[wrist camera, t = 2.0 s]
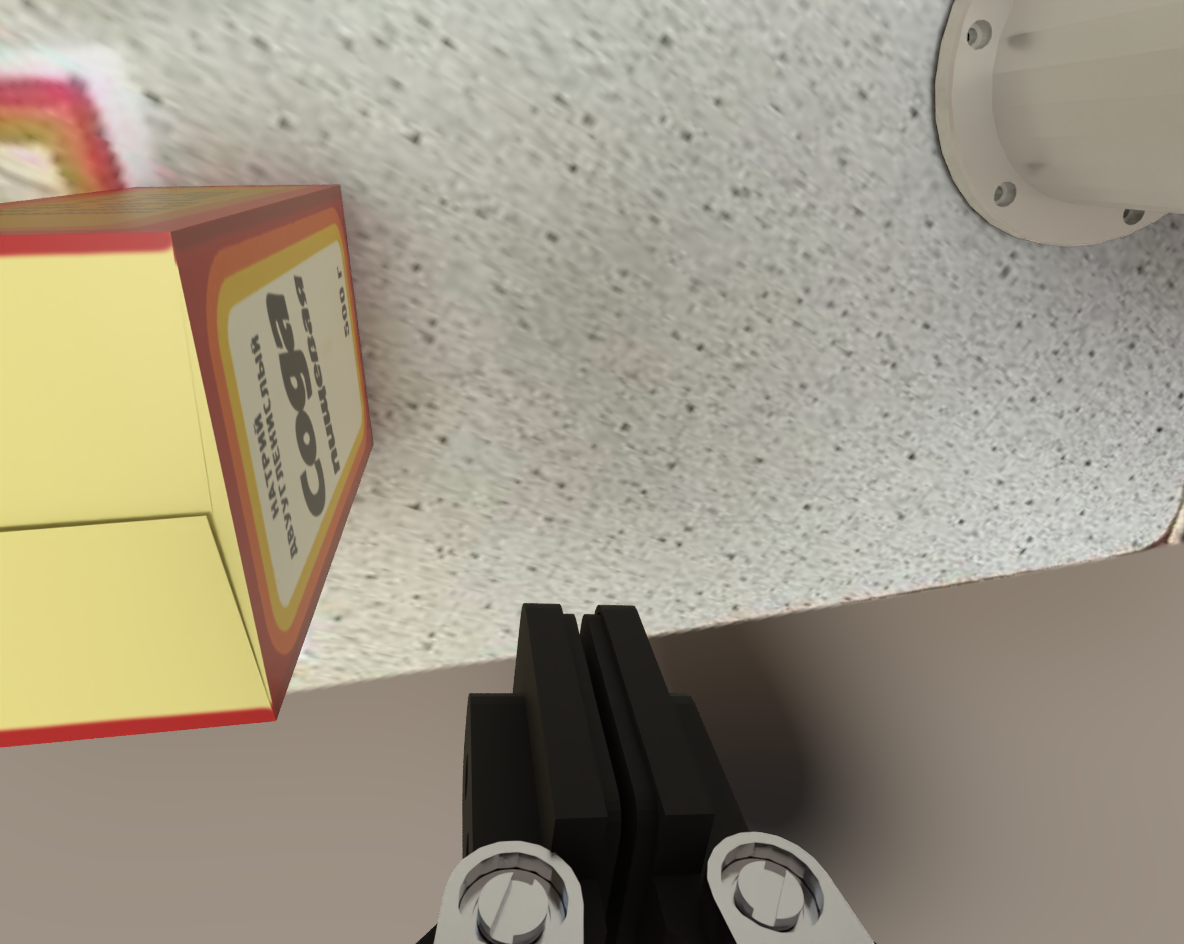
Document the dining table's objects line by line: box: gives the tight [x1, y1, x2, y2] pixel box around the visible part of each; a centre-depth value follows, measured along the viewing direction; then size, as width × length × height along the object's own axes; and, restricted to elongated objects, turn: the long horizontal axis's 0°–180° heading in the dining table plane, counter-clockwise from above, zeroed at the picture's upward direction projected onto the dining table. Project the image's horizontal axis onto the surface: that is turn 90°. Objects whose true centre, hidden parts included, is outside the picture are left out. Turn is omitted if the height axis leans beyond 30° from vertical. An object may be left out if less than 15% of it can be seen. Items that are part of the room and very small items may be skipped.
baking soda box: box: [0, 185, 373, 747], centre depth 20 cm, size 10×6×16 cm
